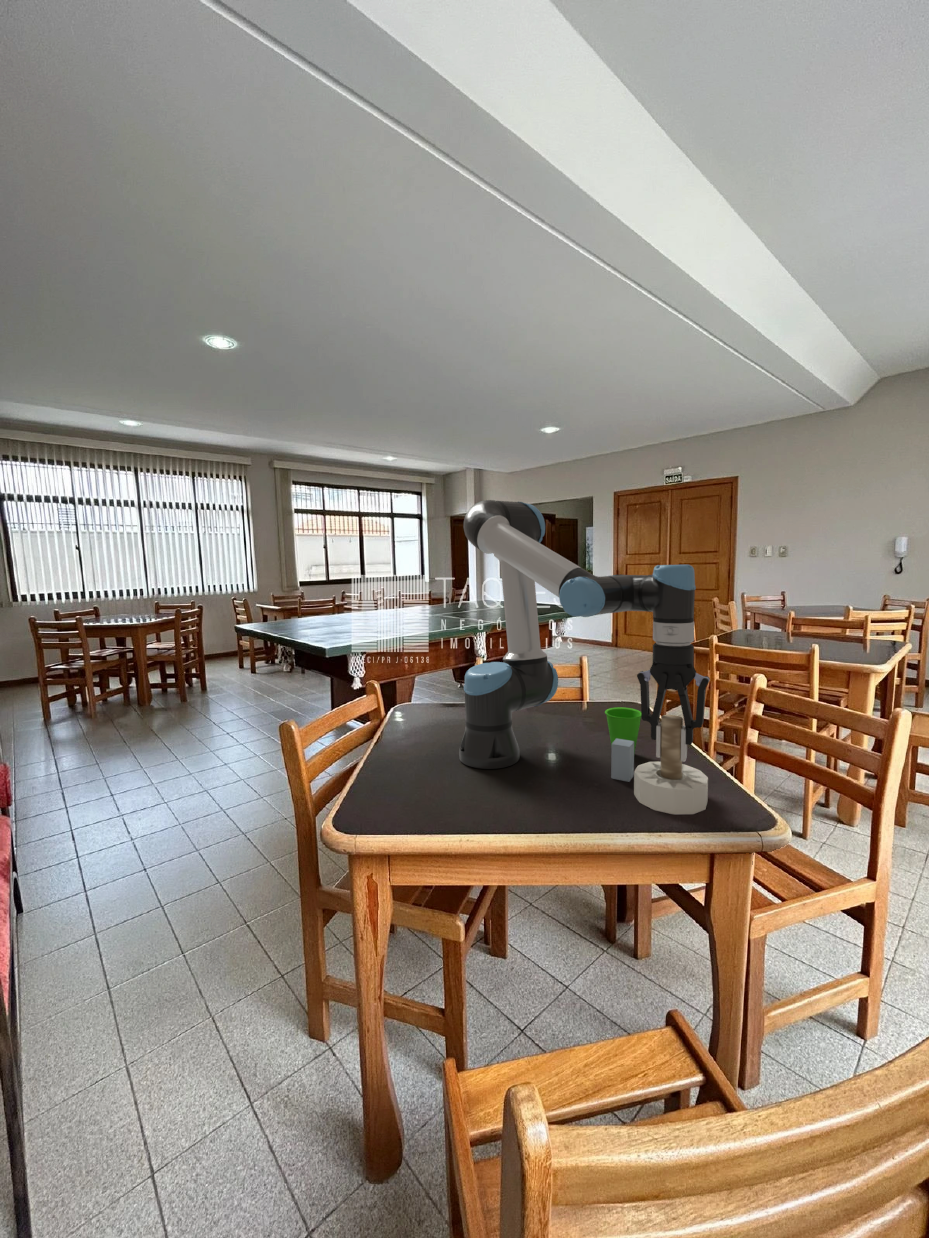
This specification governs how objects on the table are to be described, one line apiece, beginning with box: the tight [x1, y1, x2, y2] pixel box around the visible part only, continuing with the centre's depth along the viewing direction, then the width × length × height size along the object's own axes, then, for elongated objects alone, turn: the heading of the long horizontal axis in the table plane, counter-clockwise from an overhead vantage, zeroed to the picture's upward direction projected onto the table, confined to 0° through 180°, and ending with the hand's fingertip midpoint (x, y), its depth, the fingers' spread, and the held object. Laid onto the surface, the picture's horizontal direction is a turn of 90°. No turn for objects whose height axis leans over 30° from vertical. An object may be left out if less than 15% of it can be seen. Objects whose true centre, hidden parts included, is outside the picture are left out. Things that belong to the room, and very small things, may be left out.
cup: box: [604, 706, 642, 755], centre depth 125 cm, size 9×9×11 cm
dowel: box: [660, 714, 684, 780], centre depth 101 cm, size 4×4×12 cm
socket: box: [633, 761, 709, 815], centre depth 102 cm, size 14×14×5 cm
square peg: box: [610, 738, 635, 783], centre depth 113 cm, size 4×4×8 cm
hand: (671, 756), depth 102 cm, fingers closed on dowel, 4 cm apart
